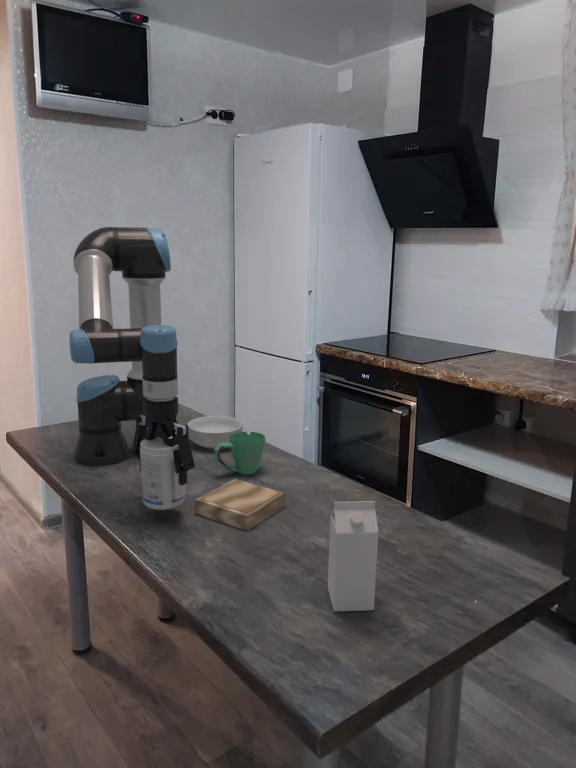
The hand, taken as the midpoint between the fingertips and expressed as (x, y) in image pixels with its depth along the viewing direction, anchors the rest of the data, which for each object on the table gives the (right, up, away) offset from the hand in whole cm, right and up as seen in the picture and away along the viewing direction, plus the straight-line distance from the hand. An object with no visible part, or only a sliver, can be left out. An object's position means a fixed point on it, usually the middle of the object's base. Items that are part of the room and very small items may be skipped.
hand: (163, 491), depth 137 cm
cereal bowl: (+6, +5, +49) cm, 50 cm away
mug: (+15, 0, +27) cm, 31 cm away
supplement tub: (0, -3, +1) cm, 3 cm away
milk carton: (+40, -14, -29) cm, 51 cm away
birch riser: (+17, -5, +5) cm, 19 cm away
